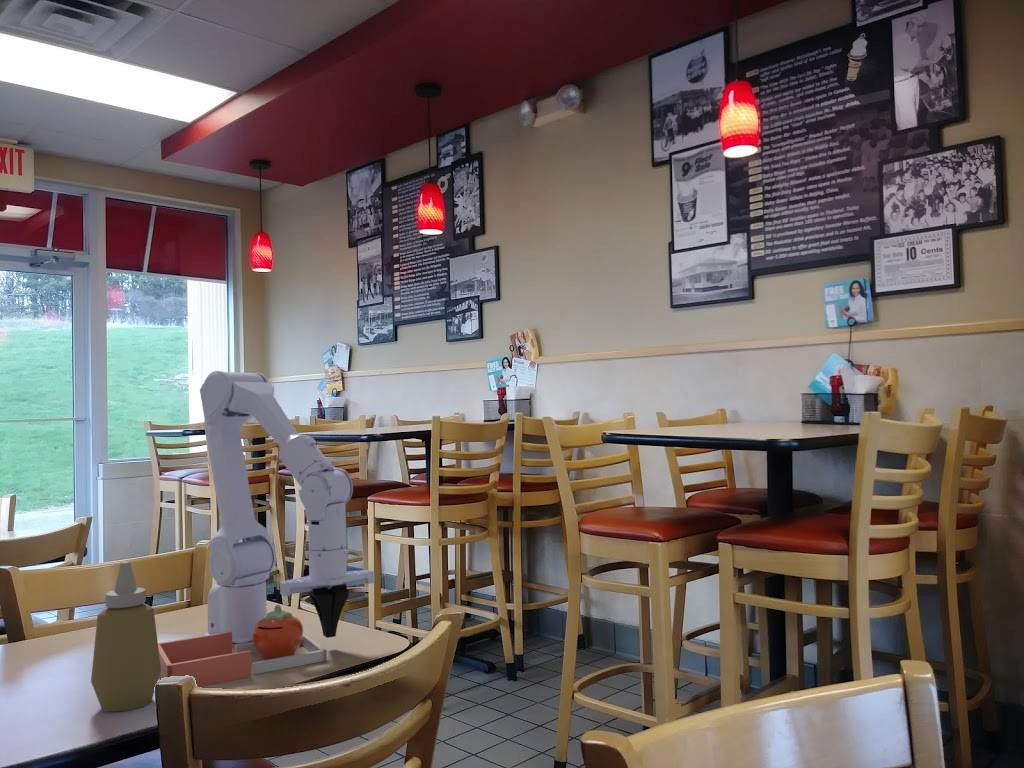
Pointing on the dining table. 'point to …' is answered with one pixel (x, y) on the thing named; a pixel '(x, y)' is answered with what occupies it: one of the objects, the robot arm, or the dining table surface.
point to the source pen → (289, 661)
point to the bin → (204, 659)
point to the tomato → (277, 634)
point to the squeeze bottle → (125, 647)
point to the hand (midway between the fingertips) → (329, 635)
